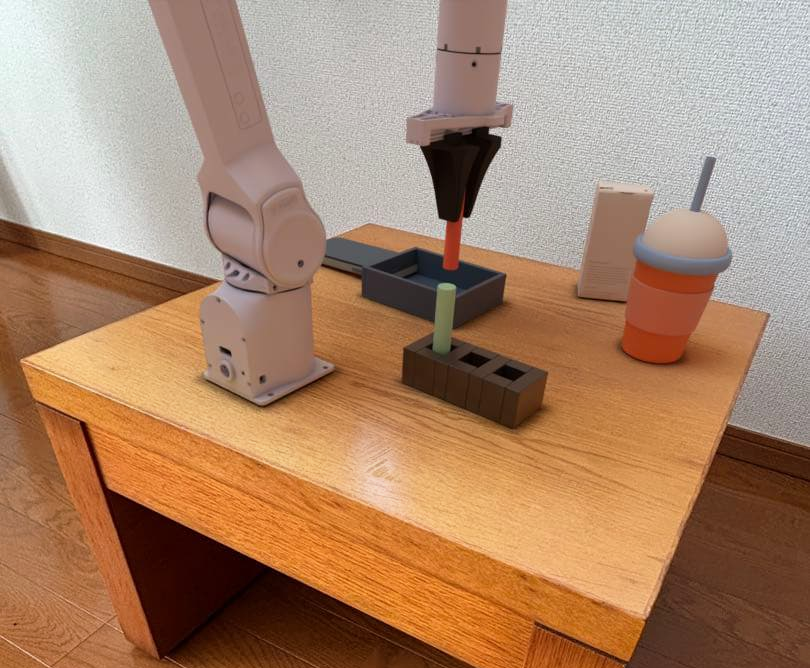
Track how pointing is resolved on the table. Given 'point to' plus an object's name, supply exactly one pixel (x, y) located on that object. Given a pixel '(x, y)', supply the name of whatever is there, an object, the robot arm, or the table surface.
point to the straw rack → (475, 379)
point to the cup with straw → (674, 278)
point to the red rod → (453, 243)
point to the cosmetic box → (613, 239)
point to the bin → (432, 285)
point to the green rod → (444, 318)
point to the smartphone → (359, 256)
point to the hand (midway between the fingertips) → (454, 218)
